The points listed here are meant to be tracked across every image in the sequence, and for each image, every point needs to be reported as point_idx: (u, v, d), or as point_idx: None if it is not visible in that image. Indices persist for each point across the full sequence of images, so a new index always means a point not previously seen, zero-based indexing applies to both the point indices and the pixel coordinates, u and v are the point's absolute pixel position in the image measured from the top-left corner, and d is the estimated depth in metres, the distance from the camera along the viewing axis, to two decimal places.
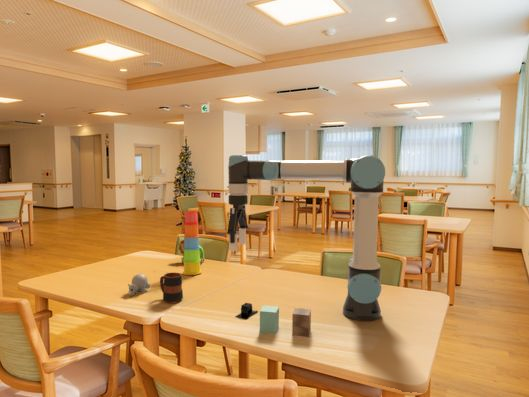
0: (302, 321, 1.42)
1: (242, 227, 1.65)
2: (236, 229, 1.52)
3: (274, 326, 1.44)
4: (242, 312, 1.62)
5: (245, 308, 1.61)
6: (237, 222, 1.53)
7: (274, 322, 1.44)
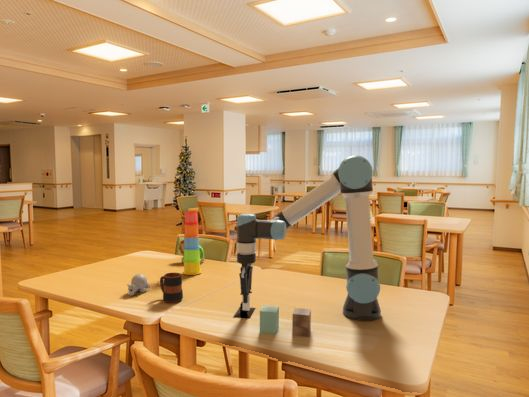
0: (302, 321, 1.42)
1: None
2: (248, 289, 1.60)
3: (274, 326, 1.44)
4: (241, 310, 1.63)
5: None
6: (248, 282, 1.59)
7: (274, 322, 1.44)
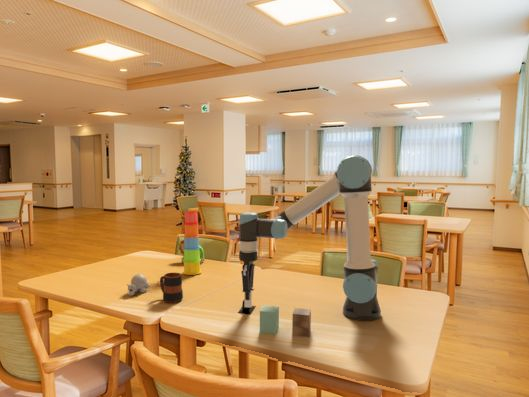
0: (302, 321, 1.42)
1: None
2: (250, 286, 1.63)
3: (274, 326, 1.44)
4: (243, 308, 1.66)
5: None
6: (250, 280, 1.62)
7: (274, 322, 1.44)
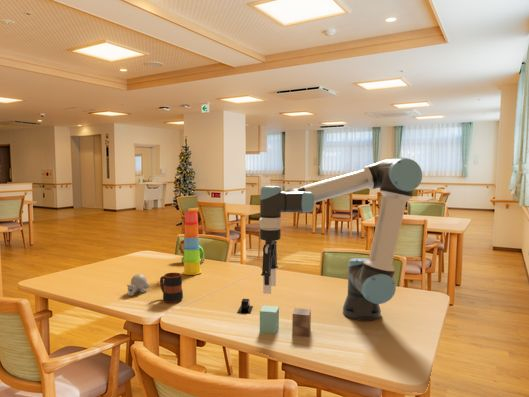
0: (302, 321, 1.42)
1: (272, 267, 1.51)
2: (270, 269, 1.41)
3: (274, 326, 1.44)
4: (242, 308, 1.66)
5: (246, 303, 1.66)
6: (271, 261, 1.42)
7: (274, 322, 1.44)
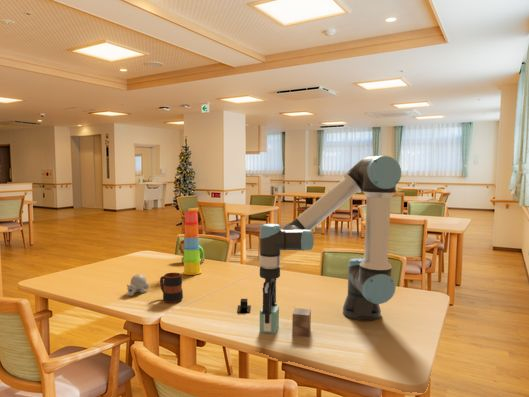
0: (302, 321, 1.42)
1: (271, 305, 1.51)
2: (270, 307, 1.44)
3: (274, 326, 1.44)
4: (242, 308, 1.66)
5: (245, 303, 1.66)
6: (271, 299, 1.44)
7: (274, 322, 1.44)
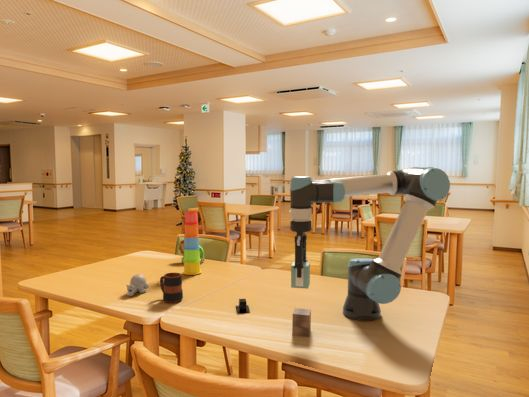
0: (302, 321, 1.42)
1: None
2: (302, 261, 1.40)
3: (306, 280, 1.41)
4: (241, 308, 1.66)
5: (244, 303, 1.66)
6: (303, 253, 1.40)
7: (306, 276, 1.41)
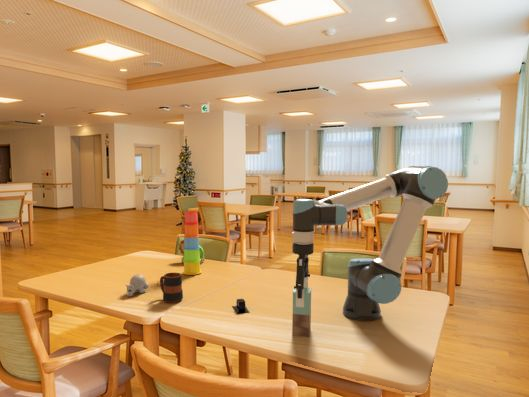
0: (302, 321, 1.42)
1: (304, 276, 1.51)
2: (303, 283, 1.37)
3: (308, 307, 1.41)
4: (240, 308, 1.66)
5: (243, 303, 1.66)
6: (304, 274, 1.39)
7: (308, 303, 1.41)
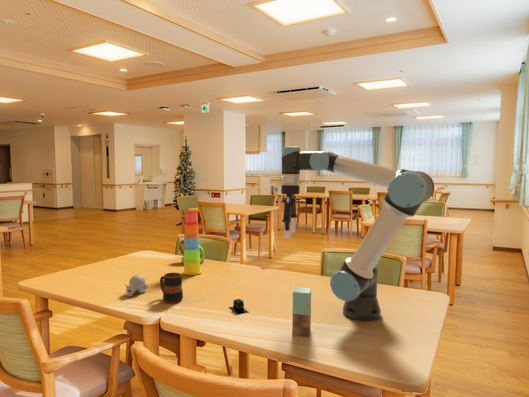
0: (302, 321, 1.42)
1: (292, 216, 1.72)
2: (290, 217, 1.59)
3: (308, 307, 1.41)
4: (239, 308, 1.66)
5: (241, 303, 1.66)
6: (291, 211, 1.60)
7: (308, 303, 1.41)
